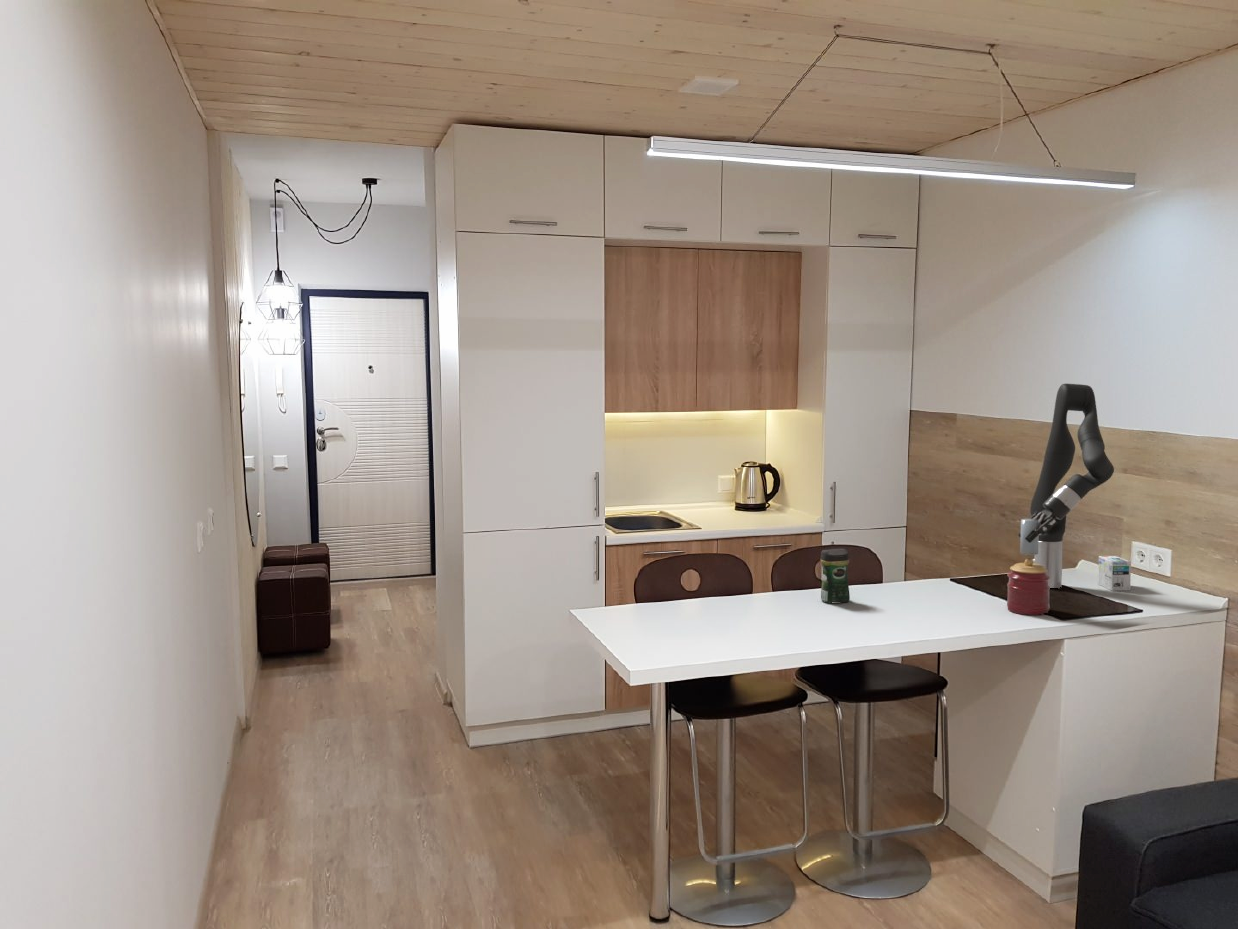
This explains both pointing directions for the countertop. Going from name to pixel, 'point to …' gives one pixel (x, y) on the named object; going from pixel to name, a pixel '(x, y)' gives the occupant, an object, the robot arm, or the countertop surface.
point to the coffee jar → (835, 575)
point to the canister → (1028, 588)
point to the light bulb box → (1114, 573)
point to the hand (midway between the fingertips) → (1023, 538)
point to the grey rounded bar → (1026, 528)
